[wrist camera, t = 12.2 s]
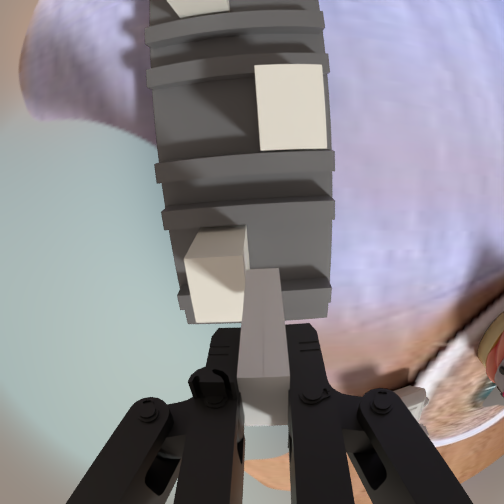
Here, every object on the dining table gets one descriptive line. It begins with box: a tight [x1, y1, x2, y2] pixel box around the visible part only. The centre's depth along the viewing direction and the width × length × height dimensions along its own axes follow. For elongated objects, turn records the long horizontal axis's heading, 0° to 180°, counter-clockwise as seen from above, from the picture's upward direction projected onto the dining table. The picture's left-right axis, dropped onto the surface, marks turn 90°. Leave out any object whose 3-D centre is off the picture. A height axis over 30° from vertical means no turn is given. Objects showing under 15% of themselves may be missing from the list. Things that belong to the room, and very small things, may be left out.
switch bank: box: [145, 0, 335, 324], centre depth 17 cm, size 30×11×4 cm, turn 4°
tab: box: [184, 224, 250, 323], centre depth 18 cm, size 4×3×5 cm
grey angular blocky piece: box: [393, 385, 429, 436], centre depth 27 cm, size 9×7×8 cm
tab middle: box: [254, 64, 327, 151], centre depth 14 cm, size 4×3×5 cm
